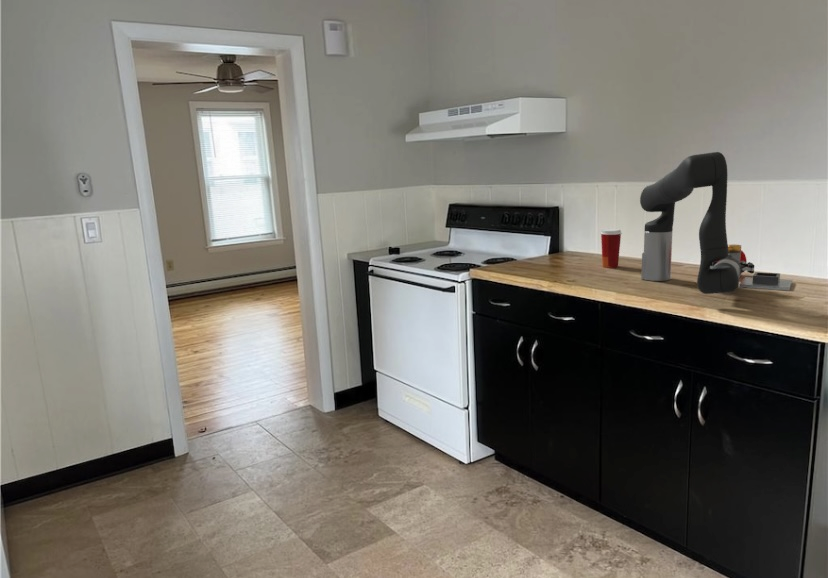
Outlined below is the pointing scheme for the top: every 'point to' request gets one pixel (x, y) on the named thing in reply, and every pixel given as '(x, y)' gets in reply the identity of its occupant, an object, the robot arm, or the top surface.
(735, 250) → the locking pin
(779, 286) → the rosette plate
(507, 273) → the top surface
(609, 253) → the coffee cup
